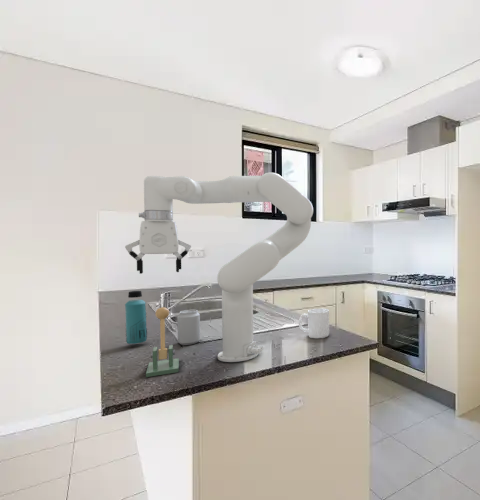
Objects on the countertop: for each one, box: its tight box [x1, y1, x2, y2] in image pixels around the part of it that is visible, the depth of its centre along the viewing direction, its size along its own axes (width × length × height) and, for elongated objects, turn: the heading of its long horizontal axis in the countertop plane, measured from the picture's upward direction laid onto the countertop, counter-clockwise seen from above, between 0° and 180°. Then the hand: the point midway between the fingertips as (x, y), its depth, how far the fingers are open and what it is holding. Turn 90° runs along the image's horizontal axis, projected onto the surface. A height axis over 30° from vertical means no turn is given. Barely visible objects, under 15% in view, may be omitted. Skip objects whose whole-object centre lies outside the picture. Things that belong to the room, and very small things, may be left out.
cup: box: [298, 308, 330, 339], centre depth 141 cm, size 8×12×10 cm
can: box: [176, 309, 201, 346], centre depth 132 cm, size 8×8×12 cm
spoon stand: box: [145, 344, 180, 378], centre depth 105 cm, size 10×8×6 cm
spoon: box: [154, 306, 170, 361], centre depth 106 cm, size 15×4×4 cm
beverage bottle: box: [124, 290, 148, 345], centre depth 129 cm, size 6×7×20 cm
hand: (159, 272), depth 110 cm, fingers open, 9 cm apart
